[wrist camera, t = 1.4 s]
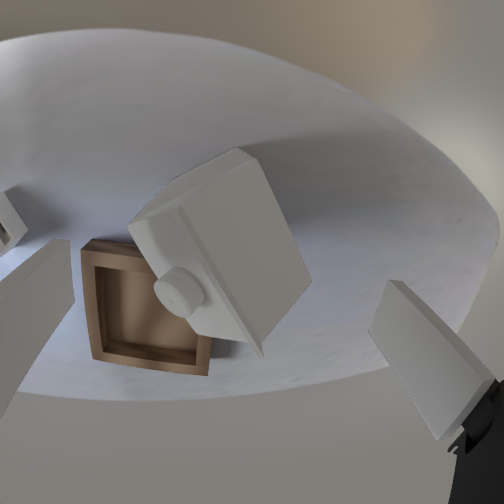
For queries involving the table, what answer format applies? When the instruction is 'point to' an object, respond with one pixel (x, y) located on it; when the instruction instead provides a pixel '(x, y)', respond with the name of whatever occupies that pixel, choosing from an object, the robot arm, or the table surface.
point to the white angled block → (9, 226)
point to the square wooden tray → (135, 314)
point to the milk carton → (222, 250)
